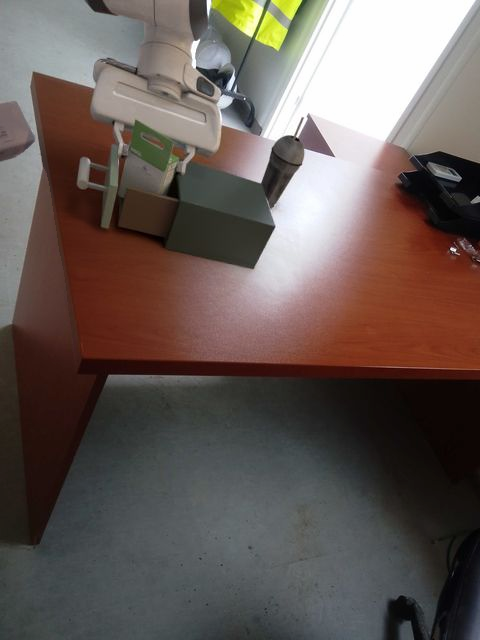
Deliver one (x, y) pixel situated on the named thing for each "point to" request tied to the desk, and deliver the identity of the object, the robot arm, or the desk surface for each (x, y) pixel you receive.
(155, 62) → the robot arm
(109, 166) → the drawer
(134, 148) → the ink box
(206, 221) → the cabinet
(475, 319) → the desk surface
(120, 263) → the desk surface
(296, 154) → the beverage cup
